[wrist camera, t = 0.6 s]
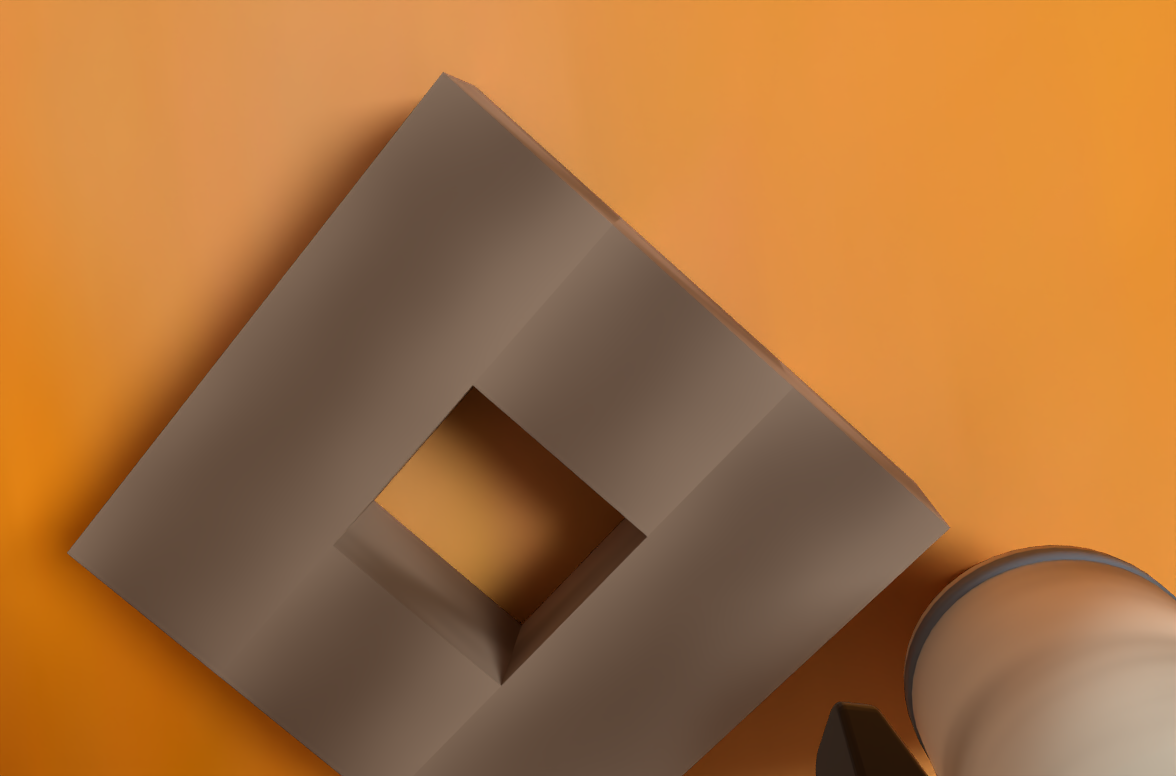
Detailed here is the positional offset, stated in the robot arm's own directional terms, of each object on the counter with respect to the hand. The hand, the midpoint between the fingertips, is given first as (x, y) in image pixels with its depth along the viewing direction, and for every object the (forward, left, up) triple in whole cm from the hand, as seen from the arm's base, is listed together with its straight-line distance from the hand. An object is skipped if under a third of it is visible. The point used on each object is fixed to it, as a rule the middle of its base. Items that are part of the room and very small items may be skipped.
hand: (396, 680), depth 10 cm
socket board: (-1, +3, -14) cm, 14 cm away
